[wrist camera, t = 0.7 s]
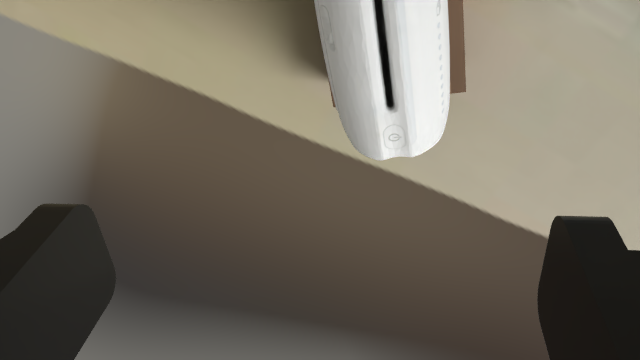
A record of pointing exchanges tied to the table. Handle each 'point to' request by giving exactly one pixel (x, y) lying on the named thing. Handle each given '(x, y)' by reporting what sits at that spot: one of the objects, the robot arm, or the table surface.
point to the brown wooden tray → (453, 47)
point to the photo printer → (388, 72)
